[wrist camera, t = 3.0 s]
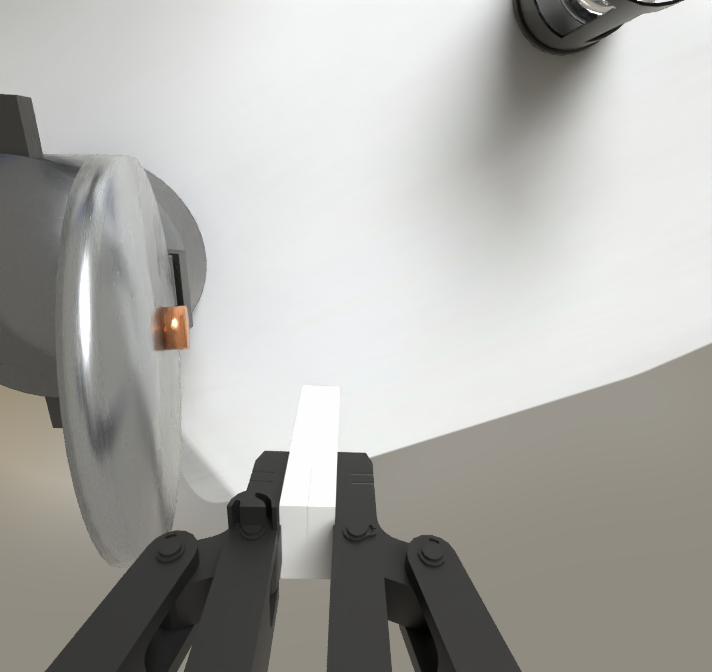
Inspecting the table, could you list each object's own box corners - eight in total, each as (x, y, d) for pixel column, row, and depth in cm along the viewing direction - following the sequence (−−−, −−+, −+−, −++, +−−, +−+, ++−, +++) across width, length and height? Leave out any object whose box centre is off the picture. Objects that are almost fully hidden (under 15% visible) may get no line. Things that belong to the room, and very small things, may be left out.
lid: (-14, 158, 10) (109, 163, 10) (138, 153, 28) (180, 155, 28) (118, 679, 17) (186, 662, 18) (171, 408, 35) (204, 405, 36)
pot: (-17, 105, 37) (-172, 82, 26) (215, 118, 38) (160, 102, 27) (47, 365, 47) (-47, 430, 36) (232, 372, 47) (196, 438, 36)
